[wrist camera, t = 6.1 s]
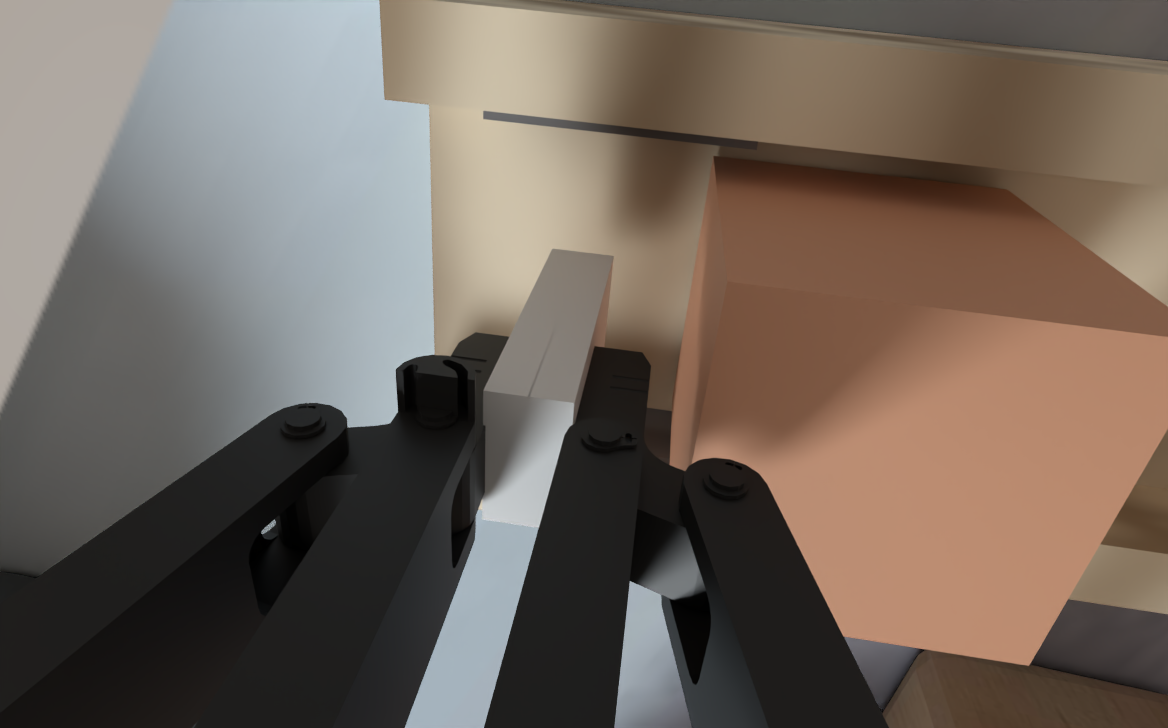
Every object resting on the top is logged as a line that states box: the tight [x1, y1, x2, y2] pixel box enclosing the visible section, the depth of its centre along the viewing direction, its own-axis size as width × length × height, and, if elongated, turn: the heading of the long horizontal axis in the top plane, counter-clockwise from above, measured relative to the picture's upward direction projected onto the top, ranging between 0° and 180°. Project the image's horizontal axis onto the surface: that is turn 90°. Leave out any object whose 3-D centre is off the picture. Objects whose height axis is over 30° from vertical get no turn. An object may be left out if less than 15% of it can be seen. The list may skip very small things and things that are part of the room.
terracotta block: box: [670, 156, 1168, 666], centre depth 16 cm, size 7×7×8 cm
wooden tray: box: [380, 0, 1168, 614], centre depth 18 cm, size 24×13×5 cm, turn 86°
